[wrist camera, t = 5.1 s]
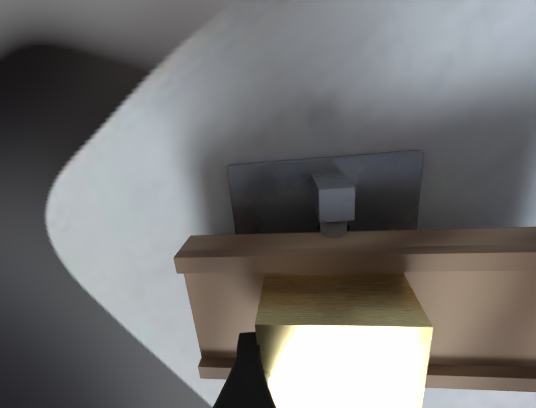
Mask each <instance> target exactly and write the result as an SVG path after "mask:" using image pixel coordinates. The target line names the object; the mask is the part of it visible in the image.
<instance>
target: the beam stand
mask: <svg viewBox="0 0 536 408" xmlns="http://www.w3.org/2000/svg"><path fill="white" fill-rule="evenodd" d="M423 156H424V152H422V151H420V150H412V151H400V152H387V153H374V154H362V155H349V156H336V157H324V158H311V159H298V160H286V161H273V162H261V163H248V164H235V165H228V167H227V172H228V180H229V187H230V195H231V202H232V209H233V217H234V224H235V232H236V234H275V233H314V232H320V223H322V222H336V221H347V232H354V231H393V230H416V224H417V214H418V205H419V195H420V185H421V176H422V166H423Z"/></svg>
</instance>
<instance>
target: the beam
mask: <svg viewBox="0 0 536 408" xmlns="http://www.w3.org/2000/svg"><path fill="white" fill-rule="evenodd" d="M174 262H175V267H176V271H177V274H178V273H184V277H185V282H186V286H187V291H188V295H189V300H190V305H191V309H192V314H193V319H194V323H195V328H196V333H197V337H198V342H199V347H200V351H201V356H202V358H201V360H200V363H199V366H198V369H199V374H200V378H204V379H227V378H228V375H229V373H230V371H231V368H232V366H233V364H234V361H235V359H236V356H237V343H238V338H239V333H245V332H256V331H255V320H256V316H257V311H258V306H259V301H260V296H261V291H262V286H263V281H264V276H279V275H405V277H406V279H407V280H408V282H409V284H410V286H411V288H412V289H413V291H414V293H415V295H416V297H417V299H418V300H419V302H420V304H421V306H422V308H423V309H424V311H425V313H426V315H427V317H428V319H429V320H430V322H431V324H432V326H433V332H432V339H431V346H430V353H429V360H428V367H427V374H426V381H425V388H449V389H474V390H498V391H523V392H536V227H511V228H472V229H432V230H393V231H354V232H347V221H336V222H322V223H320V232H314V233H275V234H236V235H196V236H190V237H189V238H188V240H187V241H186V242H185V244H184V245H183V246H182V247H181V249H180V250H179V251H178V253H177V254H176V255H175V257H174Z"/></svg>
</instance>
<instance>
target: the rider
mask: <svg viewBox="0 0 536 408" xmlns="http://www.w3.org/2000/svg"><path fill="white" fill-rule="evenodd" d="M255 331H256V339H257V345H260V353H261V361H262V368H263V371H264V375H265V378H266V381H267V384H268V387H269V390H270V392H271V395H272V398H273V400H274V403H275V405H276V408H422V402H423V395H424V388H425V381H426V374H427V367H428V360H429V353H430V346H431V339H432V332H433V326H432V324H431V322H430V320H429V319H428V317H427V315H426V313H425V311H424V309H423V308H422V306H421V304H420V302H419V300H418V299H417V297H416V295H415V293H414V291H413V289H412V288H411V286H410V284H409V282H408V280H407V279H406V277H405V275H279V276H264V281H263V286H262V291H261V296H260V301H259V306H258V311H257V316H256V320H255Z"/></svg>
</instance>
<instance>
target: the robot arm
mask: <svg viewBox="0 0 536 408" xmlns="http://www.w3.org/2000/svg"><path fill="white" fill-rule="evenodd" d="M213 408H276V405H275V403H274V400H273V398H272V395H271V392H270V390H269V387H268V384H267V381H266V378H265V375H264V371H263V368H262V361H261V353H260V345H257V339H256V332H245V333H239V338H238V343H237V356H236V359H235V361H234V364H233V366H232V368H231V371H230V373H229V375H228V378H227V380H226V382H225V384H224V386H223V388H222V390H221V392H220V394H219V396H218V398H217V400H216V402H215V404H214V406H213Z"/></svg>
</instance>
